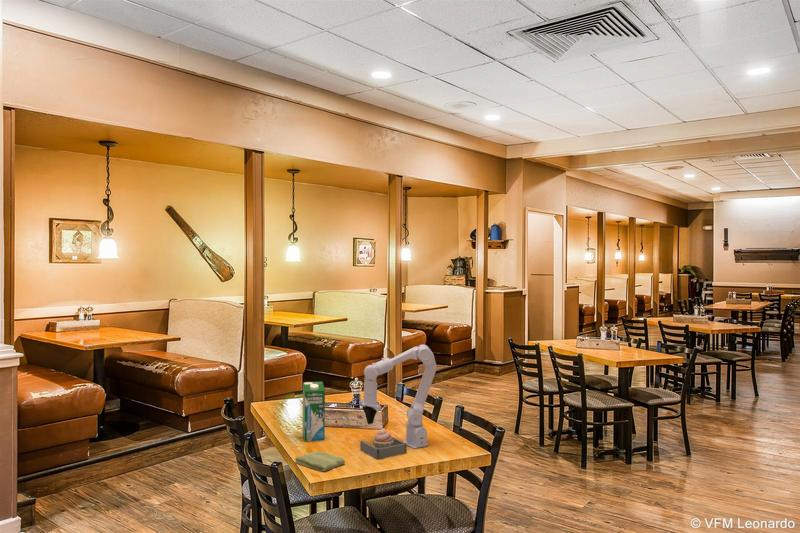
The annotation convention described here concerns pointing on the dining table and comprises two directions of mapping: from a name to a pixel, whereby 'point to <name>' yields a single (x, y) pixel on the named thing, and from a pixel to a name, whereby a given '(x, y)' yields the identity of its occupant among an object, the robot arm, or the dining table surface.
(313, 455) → the washcloth
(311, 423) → the milk carton
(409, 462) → the dining table surface
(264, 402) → the dining table surface
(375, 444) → the cupcake
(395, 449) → the box
